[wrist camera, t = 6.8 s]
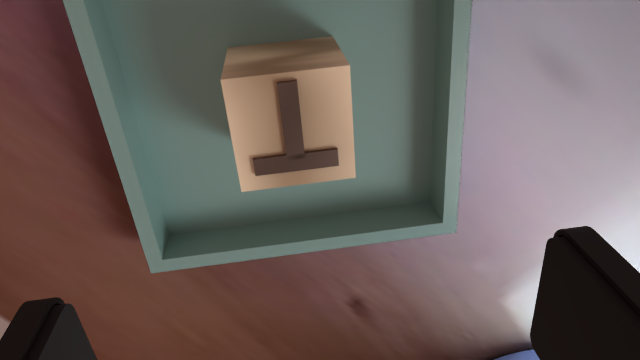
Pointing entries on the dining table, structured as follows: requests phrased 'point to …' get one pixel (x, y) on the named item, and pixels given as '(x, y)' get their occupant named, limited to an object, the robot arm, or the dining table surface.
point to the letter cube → (289, 113)
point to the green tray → (214, 133)
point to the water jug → (520, 356)
